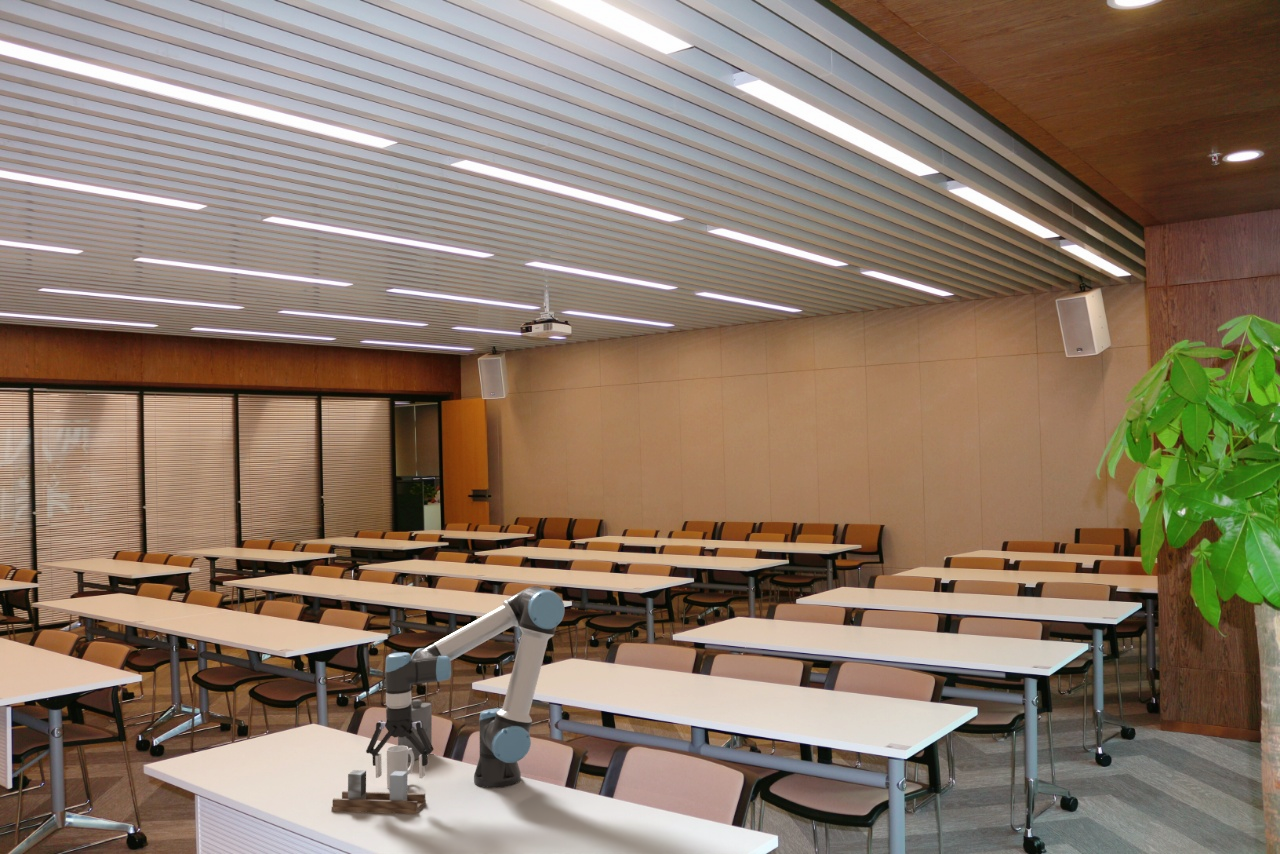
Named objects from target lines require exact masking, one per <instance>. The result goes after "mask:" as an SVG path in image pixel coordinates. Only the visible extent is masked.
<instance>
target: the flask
mask: <svg viewBox="0 0 1280 854" xmlns="http://www.w3.org/2000/svg"><path fill="white" fill-rule="evenodd" d="M411 706H412V721H413V722H419V721H420V720H421V721H422V723H423V728H424V730H425V732H426V734H427V736H428V738H429V740H430V742H431V744H432V743H433V742H432V741H433V740H432V739H433V738H432V730H433V728H432V726H433V725H432V721H433V720H432V719H433V717H432V715H433V713H432V712H433V711H432V709H433V708H432V706H433V705H432V703H430V702H422V700H421V699H420V698H419V699H413V700H412V702H411ZM411 730H412V731H413V732H414V734H415V736H416V737H417V738H418V739H419V740H420V742H421V743H422V741H421V739H420V737H419V735H418V733H417V730H416V729H415V728H414V727H412V729H411ZM422 744H423V743H422ZM397 746H407V747H408V749H409V748H412V751H413V754H414V762H415V761H417V760H418V761H419V756H420V755H421V753H420V752H419V751H418V750H417V749H416V747H415V746H414V745H413V744H412V743H411V741H410V740H409V739H407V738H406V737H397ZM430 754H432V752H431V753H430ZM430 754H427V755H428V756H430ZM408 763H411V756H410V754H408Z"/></svg>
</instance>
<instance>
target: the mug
mask: <svg viewBox="0 0 1280 854" xmlns="http://www.w3.org/2000/svg"><path fill="white" fill-rule="evenodd" d="M408 754H410V756H411V762H410V764H409V762H408ZM414 765H415V761H414V754H413V751H412V748H409V749H408V747H407V746H398V745H392V746H389V747H387V748H386V784H387V785H386V788H388V789H390V775H391V774H392V773H393V772H394V771H407V778H408V776H409V775H410V774H412V772H413V769H414ZM408 766H409V767H408Z"/></svg>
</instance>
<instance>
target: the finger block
mask: <svg viewBox="0 0 1280 854" xmlns="http://www.w3.org/2000/svg"><path fill="white" fill-rule="evenodd" d="M389 793H390V800H397V801H407V793H408V777H407V771H394V772H393V773H392V774H391V775H390V788H389Z"/></svg>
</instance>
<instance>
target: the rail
mask: <svg viewBox="0 0 1280 854" xmlns="http://www.w3.org/2000/svg"><path fill="white" fill-rule="evenodd" d="M426 804H427V799H426V793H410V792H407V801H397V800H390V792H384V791H383V792H382V791H381V792H379V791H367V769H366V770H361V769H360V770H359V769H356V770H355V769H353V770H352V771H350V772H349V773H347V790H343V791H342V792H341V798H338V797H337V798H335V797H334V798H333V799H332V806H331V812H343V813H345V812H346V813H369V814H370V813H373V814H374V813H375V814H398V815H399V814H400V815H401V814H404V815H417V813H418V812H420V810H422V808H423V807H425V805H426Z"/></svg>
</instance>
